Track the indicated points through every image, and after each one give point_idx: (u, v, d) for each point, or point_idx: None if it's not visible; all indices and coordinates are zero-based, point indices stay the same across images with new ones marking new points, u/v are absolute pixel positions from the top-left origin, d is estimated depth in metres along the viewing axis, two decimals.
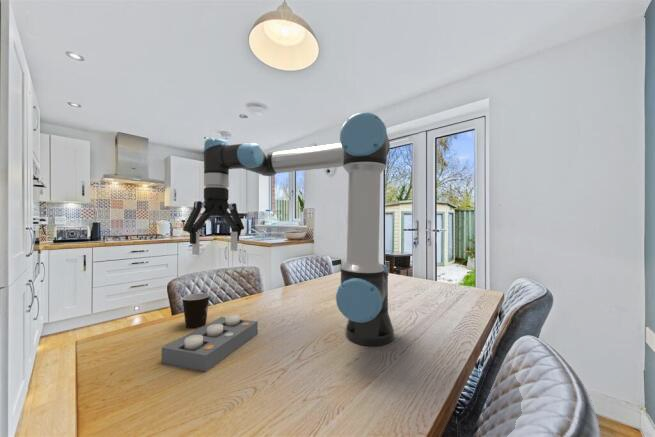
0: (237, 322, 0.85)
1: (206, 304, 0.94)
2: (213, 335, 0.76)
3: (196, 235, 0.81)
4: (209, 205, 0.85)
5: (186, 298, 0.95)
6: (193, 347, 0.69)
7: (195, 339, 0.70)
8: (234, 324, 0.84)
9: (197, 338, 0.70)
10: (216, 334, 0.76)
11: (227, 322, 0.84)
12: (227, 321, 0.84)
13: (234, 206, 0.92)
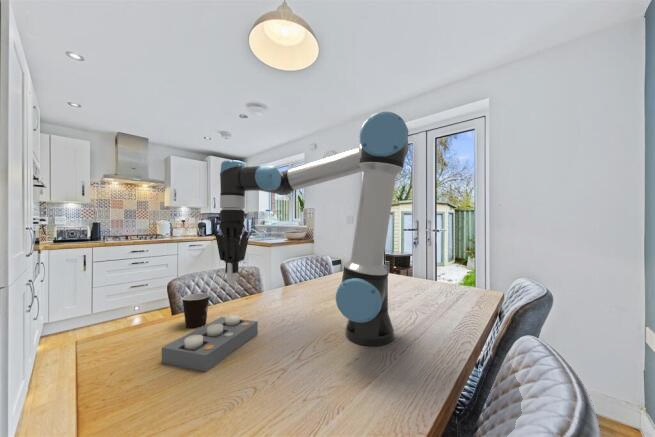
0: (237, 322, 0.85)
1: (206, 304, 0.94)
2: (213, 335, 0.76)
3: None
4: (222, 227, 0.86)
5: (186, 298, 0.95)
6: (193, 347, 0.69)
7: (195, 339, 0.70)
8: (234, 324, 0.84)
9: (197, 338, 0.70)
10: (216, 334, 0.76)
11: (227, 322, 0.84)
12: (227, 321, 0.84)
13: (244, 234, 0.83)
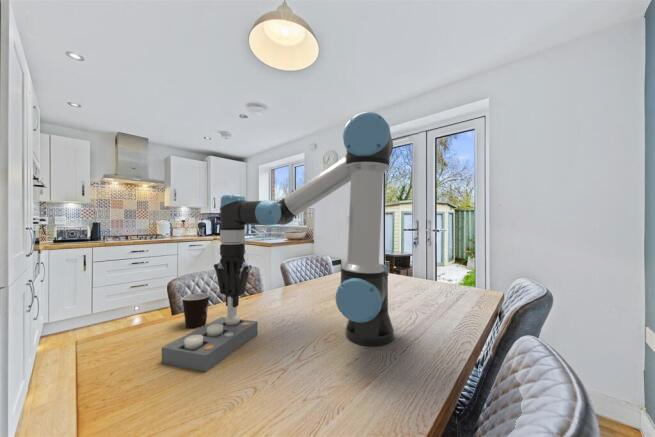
0: (237, 322, 0.85)
1: (206, 304, 0.94)
2: (213, 335, 0.76)
3: None
4: (222, 261, 0.86)
5: (186, 298, 0.95)
6: (193, 347, 0.69)
7: (195, 339, 0.70)
8: (234, 324, 0.84)
9: (197, 338, 0.70)
10: (216, 334, 0.76)
11: (227, 322, 0.84)
12: (227, 321, 0.84)
13: (244, 269, 0.83)
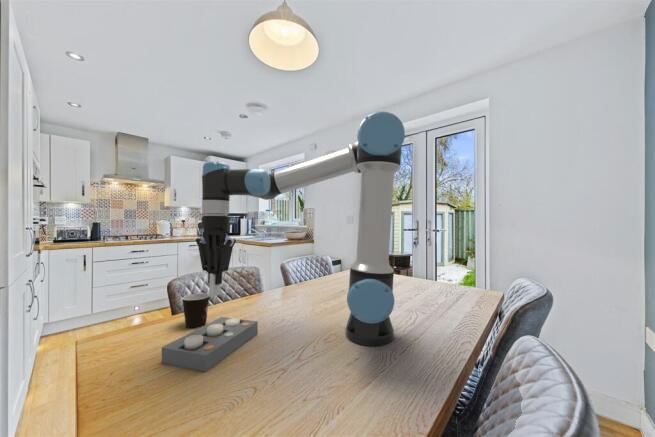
0: None
1: (206, 304, 0.94)
2: (213, 335, 0.76)
3: None
4: (205, 235, 0.79)
5: (186, 298, 0.95)
6: (193, 347, 0.69)
7: (195, 339, 0.70)
8: None
9: (197, 338, 0.70)
10: (216, 334, 0.76)
11: (227, 325, 0.84)
12: (227, 324, 0.84)
13: (227, 242, 0.76)
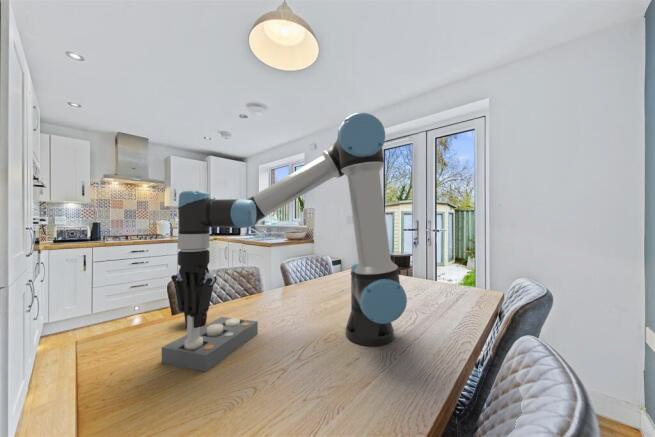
0: None
1: None
2: (213, 335, 0.76)
3: None
4: (181, 272, 0.71)
5: None
6: (193, 349, 0.69)
7: (195, 341, 0.70)
8: None
9: (197, 340, 0.70)
10: (216, 334, 0.76)
11: (227, 325, 0.84)
12: (227, 324, 0.84)
13: (206, 281, 0.68)
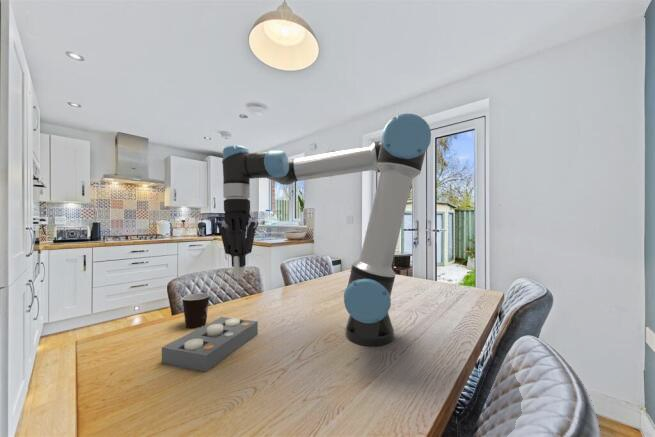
0: None
1: (206, 304, 0.94)
2: (213, 335, 0.76)
3: None
4: (226, 219, 0.80)
5: (186, 298, 0.95)
6: None
7: (195, 343, 0.70)
8: None
9: (197, 342, 0.70)
10: (216, 334, 0.76)
11: (227, 325, 0.84)
12: (227, 324, 0.84)
13: (251, 224, 0.78)
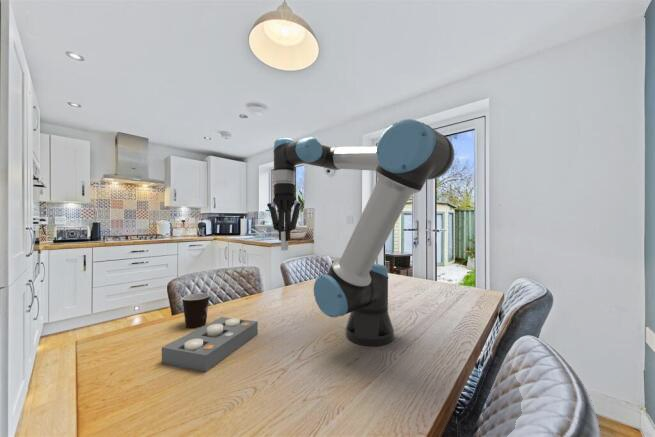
0: None
1: (206, 304, 0.94)
2: (213, 335, 0.76)
3: (281, 233, 0.94)
4: (275, 200, 0.95)
5: (186, 298, 0.95)
6: None
7: (195, 343, 0.70)
8: None
9: (197, 342, 0.70)
10: (216, 334, 0.76)
11: (227, 325, 0.84)
12: (227, 324, 0.84)
13: (296, 205, 0.92)
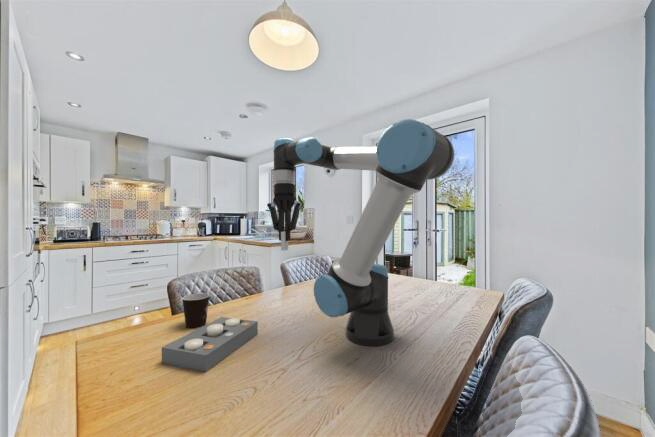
0: None
1: (206, 304, 0.94)
2: (213, 335, 0.76)
3: (281, 233, 0.94)
4: (275, 200, 0.95)
5: (186, 298, 0.95)
6: None
7: (195, 343, 0.70)
8: None
9: (197, 342, 0.70)
10: (216, 334, 0.76)
11: (227, 325, 0.84)
12: (227, 324, 0.84)
13: (296, 205, 0.92)
